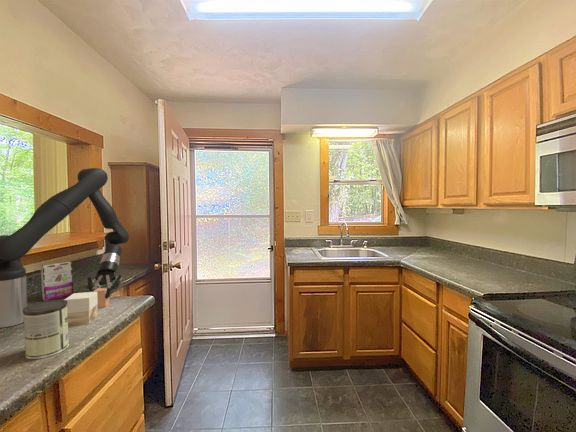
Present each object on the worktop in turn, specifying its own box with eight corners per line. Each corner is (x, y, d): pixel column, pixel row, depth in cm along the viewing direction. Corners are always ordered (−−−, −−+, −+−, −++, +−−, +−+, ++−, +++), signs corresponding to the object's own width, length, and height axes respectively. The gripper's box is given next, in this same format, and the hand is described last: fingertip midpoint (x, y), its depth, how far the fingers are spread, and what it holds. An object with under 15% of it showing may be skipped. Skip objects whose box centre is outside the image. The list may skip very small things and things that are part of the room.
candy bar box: (70, 293, 141) (69, 261, 140) (73, 295, 138) (72, 262, 137) (41, 299, 132) (40, 265, 132) (44, 301, 129) (42, 266, 128)
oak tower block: (89, 324, 105) (88, 311, 104) (64, 326, 103) (63, 313, 102) (97, 316, 112) (97, 303, 112) (74, 318, 110) (74, 305, 110)
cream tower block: (89, 311, 105) (89, 297, 104) (64, 313, 102) (63, 299, 102) (97, 303, 112) (97, 291, 112) (74, 305, 110) (73, 293, 110)
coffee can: (21, 351, 85) (19, 306, 84) (64, 339, 93) (62, 297, 92) (28, 364, 78) (25, 314, 78) (73, 349, 86) (71, 304, 86)
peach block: (105, 307, 122) (105, 290, 121) (93, 308, 120) (93, 291, 120) (109, 303, 126) (109, 287, 126) (98, 304, 125) (97, 288, 124)
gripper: (89, 261, 128) (77, 295, 117) (124, 259, 131) (115, 292, 120) (94, 270, 133) (83, 303, 122) (128, 268, 137) (120, 300, 125)
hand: (99, 298), depth 121 cm, fingers closed on peach block, 4 cm apart
